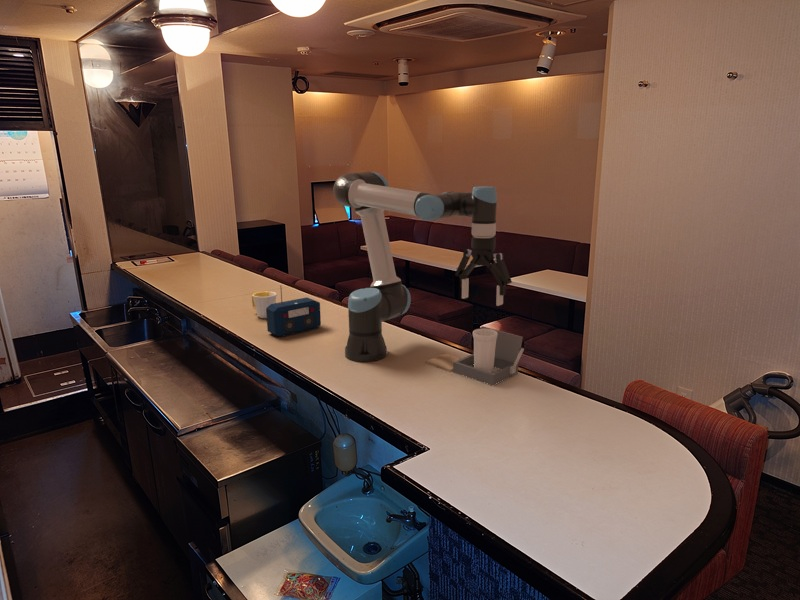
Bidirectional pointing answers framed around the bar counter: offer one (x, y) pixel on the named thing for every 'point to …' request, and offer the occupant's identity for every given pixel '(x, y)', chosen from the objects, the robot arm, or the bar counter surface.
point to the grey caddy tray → (504, 359)
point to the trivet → (443, 361)
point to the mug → (263, 302)
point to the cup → (484, 349)
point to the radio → (293, 316)
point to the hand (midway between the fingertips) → (481, 301)
